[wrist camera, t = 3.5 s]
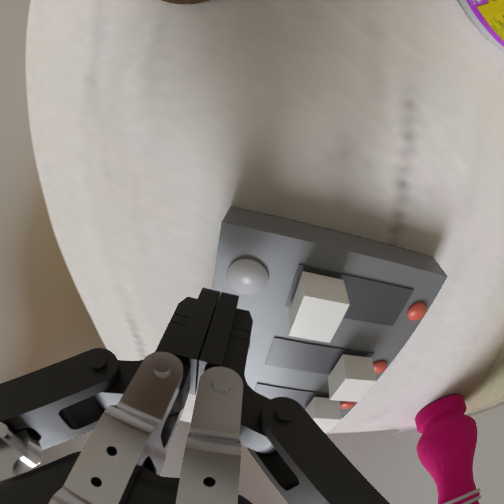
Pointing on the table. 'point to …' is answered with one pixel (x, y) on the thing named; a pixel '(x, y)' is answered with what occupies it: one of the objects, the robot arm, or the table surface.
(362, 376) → the middle switch
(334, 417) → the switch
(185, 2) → the utensil holder
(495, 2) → the supplement bottle
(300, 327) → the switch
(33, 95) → the table surface
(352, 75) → the table surface
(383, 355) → the switch panel
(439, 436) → the pepper mill
